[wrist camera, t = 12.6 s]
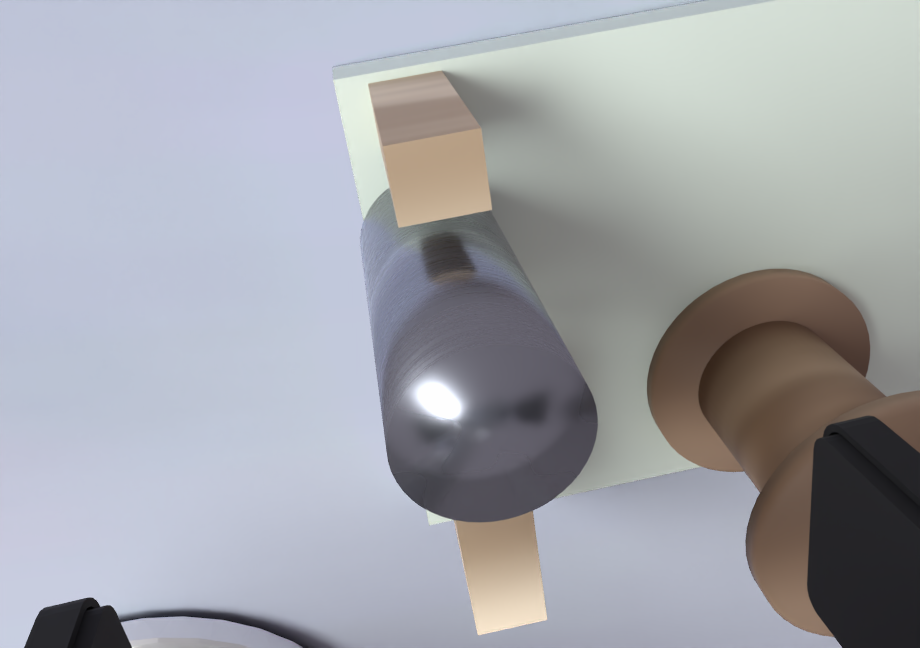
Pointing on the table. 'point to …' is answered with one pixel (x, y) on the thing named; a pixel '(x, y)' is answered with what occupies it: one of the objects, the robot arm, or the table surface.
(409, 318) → the peg
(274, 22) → the table surface
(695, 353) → the bobbin
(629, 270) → the base board
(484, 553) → the notched rail
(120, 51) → the table surface
